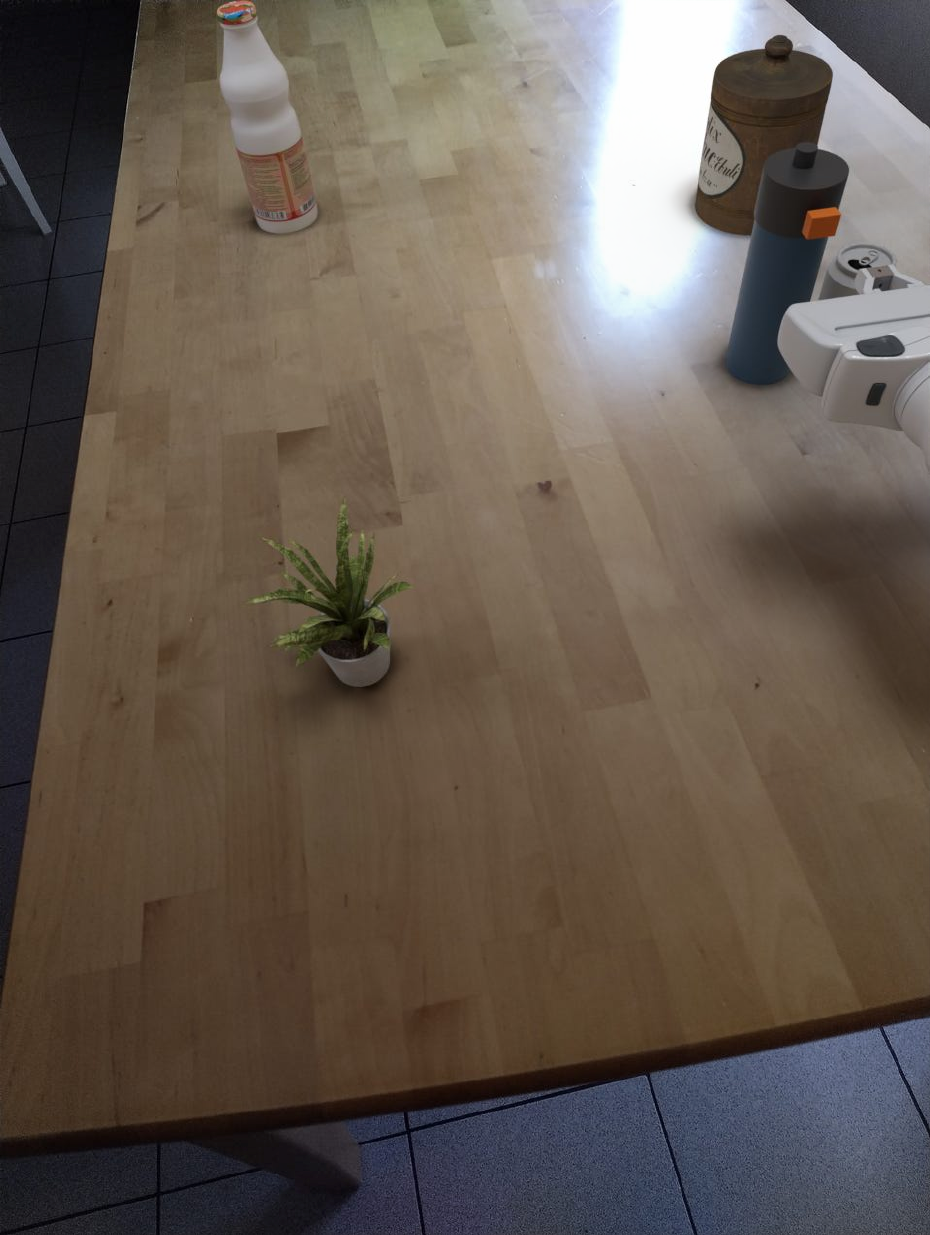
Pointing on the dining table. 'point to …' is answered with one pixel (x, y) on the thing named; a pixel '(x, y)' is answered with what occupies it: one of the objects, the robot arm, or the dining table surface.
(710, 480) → the dining table surface
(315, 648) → the house plant
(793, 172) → the bottle
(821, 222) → the orange block
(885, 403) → the robot arm
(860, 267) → the can
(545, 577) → the dining table surface
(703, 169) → the wooden container
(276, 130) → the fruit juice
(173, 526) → the dining table surface
